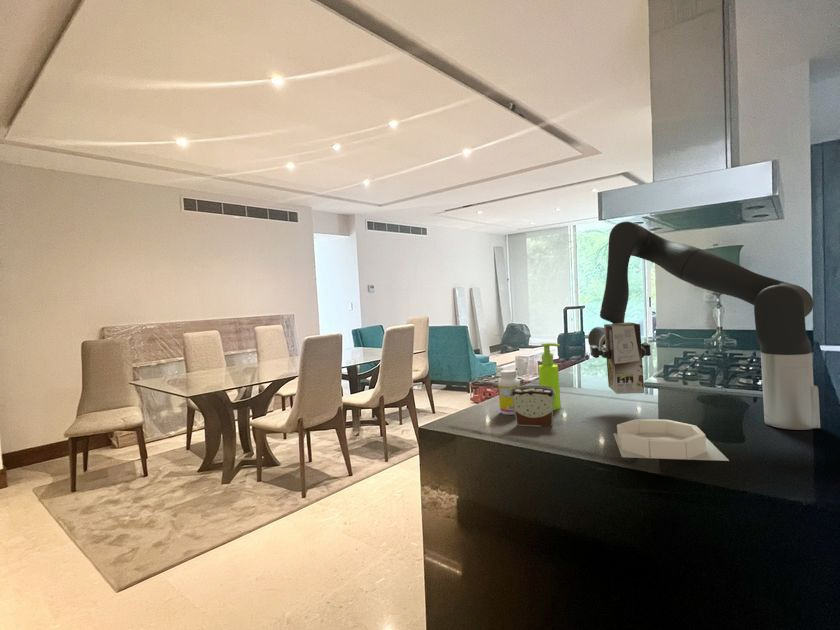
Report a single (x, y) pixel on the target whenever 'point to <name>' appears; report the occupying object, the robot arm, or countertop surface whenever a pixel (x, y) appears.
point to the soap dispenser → (550, 373)
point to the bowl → (661, 438)
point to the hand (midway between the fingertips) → (625, 354)
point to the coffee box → (624, 357)
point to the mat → (709, 455)
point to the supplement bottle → (507, 391)
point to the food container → (533, 405)
